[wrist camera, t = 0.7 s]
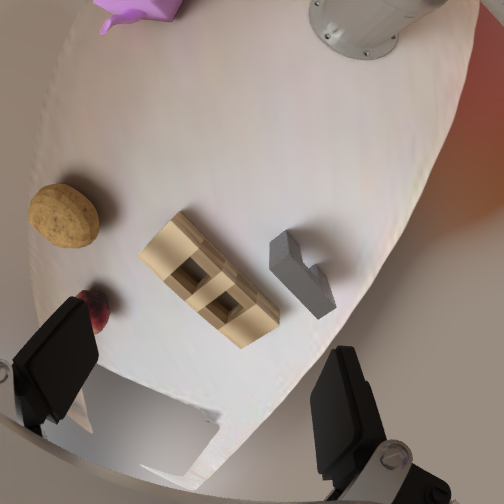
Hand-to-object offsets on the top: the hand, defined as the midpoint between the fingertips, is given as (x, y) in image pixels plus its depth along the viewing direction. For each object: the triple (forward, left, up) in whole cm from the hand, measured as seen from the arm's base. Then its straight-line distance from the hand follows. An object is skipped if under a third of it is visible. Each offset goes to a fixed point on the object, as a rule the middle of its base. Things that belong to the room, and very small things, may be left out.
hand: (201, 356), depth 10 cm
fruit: (+35, -4, -31) cm, 47 cm away
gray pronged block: (+2, +13, -30) cm, 33 cm away
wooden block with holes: (+14, +7, -30) cm, 34 cm away
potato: (+23, -17, -31) cm, 42 cm away
